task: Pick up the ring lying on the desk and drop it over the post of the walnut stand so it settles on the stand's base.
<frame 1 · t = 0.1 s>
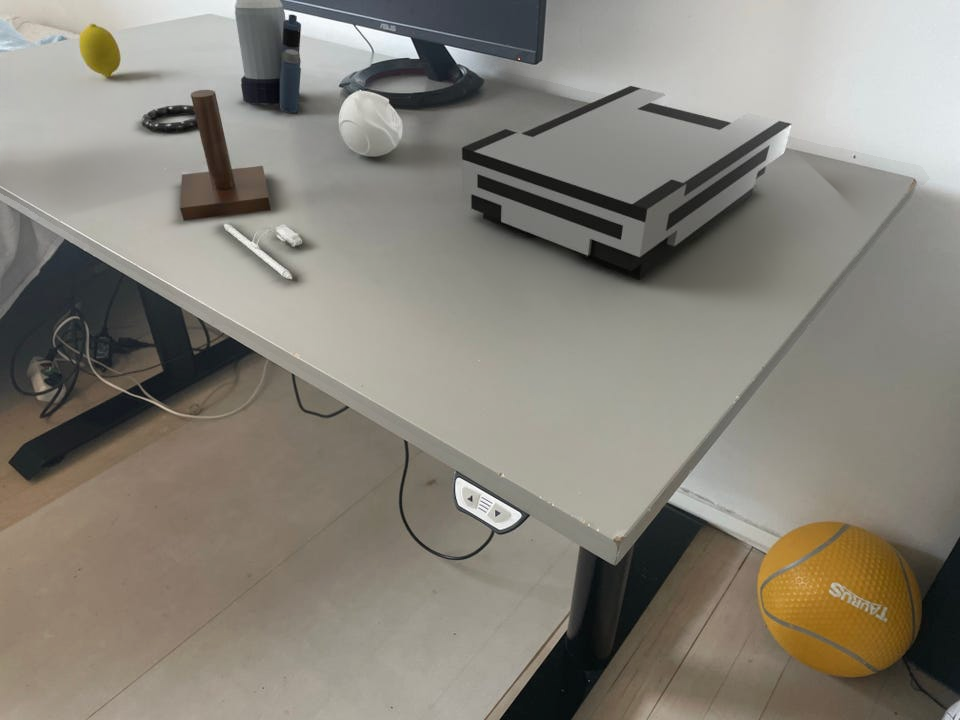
picture light: (273, 249, 71), on the table
ring: (175, 118, 98), point 1 cm above the table
vaping device: (288, 106, 103), on the table, touching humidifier
stand: (226, 198, 80), on the table
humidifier: (271, 100, 106), on the table, touching vaping device
game console: (627, 203, 80), on the table
white ridged ball: (373, 155, 90), on the table
lemon: (108, 78, 115), on the table
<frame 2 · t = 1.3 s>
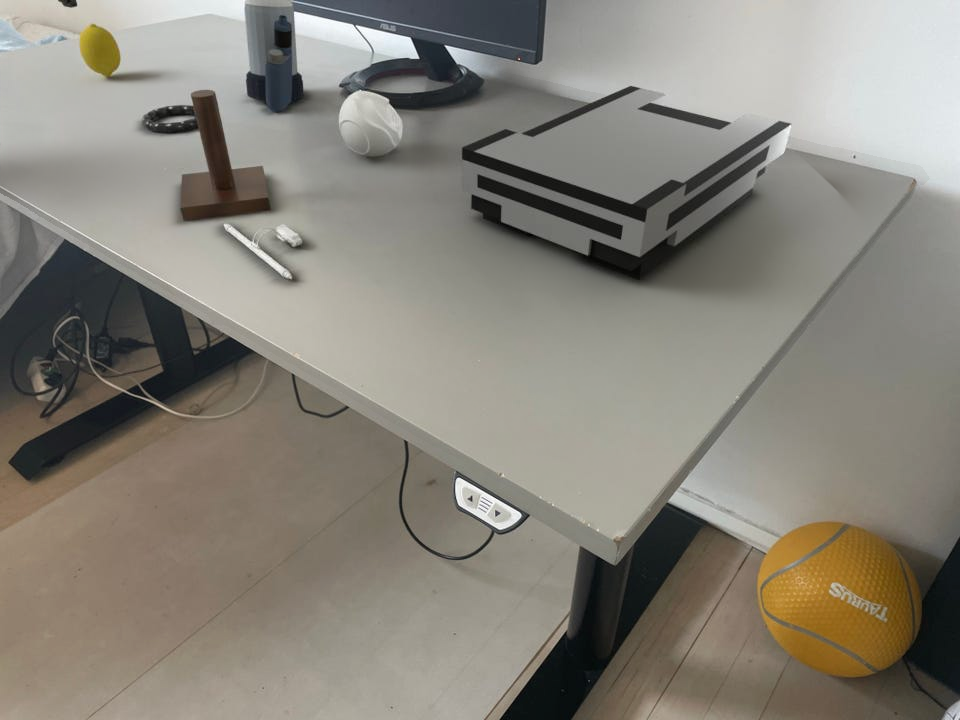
hand: (101, 0, 90), 15 cm above the table, tool pointing down, fingers open, 8 cm apart
vaping device: (279, 105, 104), on the table, touching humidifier
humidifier: (275, 96, 107), on the table, touching vaping device
everything else where it was.
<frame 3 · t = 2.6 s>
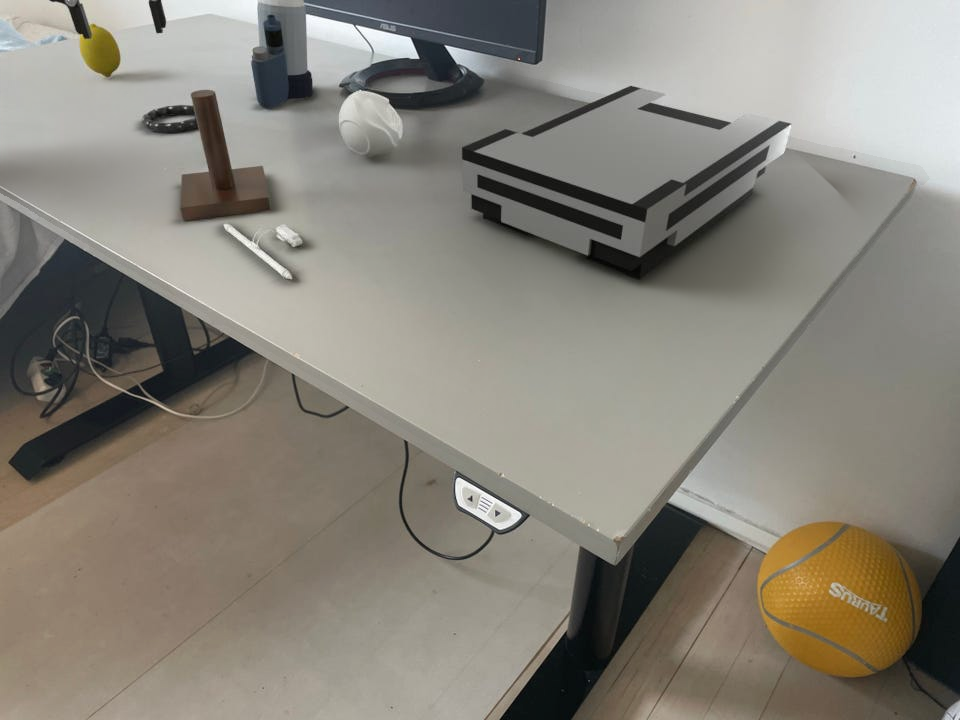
hand: (124, 34, 91), 12 cm above the table, tool pointing down, fingers open, 8 cm apart
vaping device: (274, 102, 105), on the table, touching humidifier
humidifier: (285, 93, 108), on the table, touching vaping device
everything else where it was.
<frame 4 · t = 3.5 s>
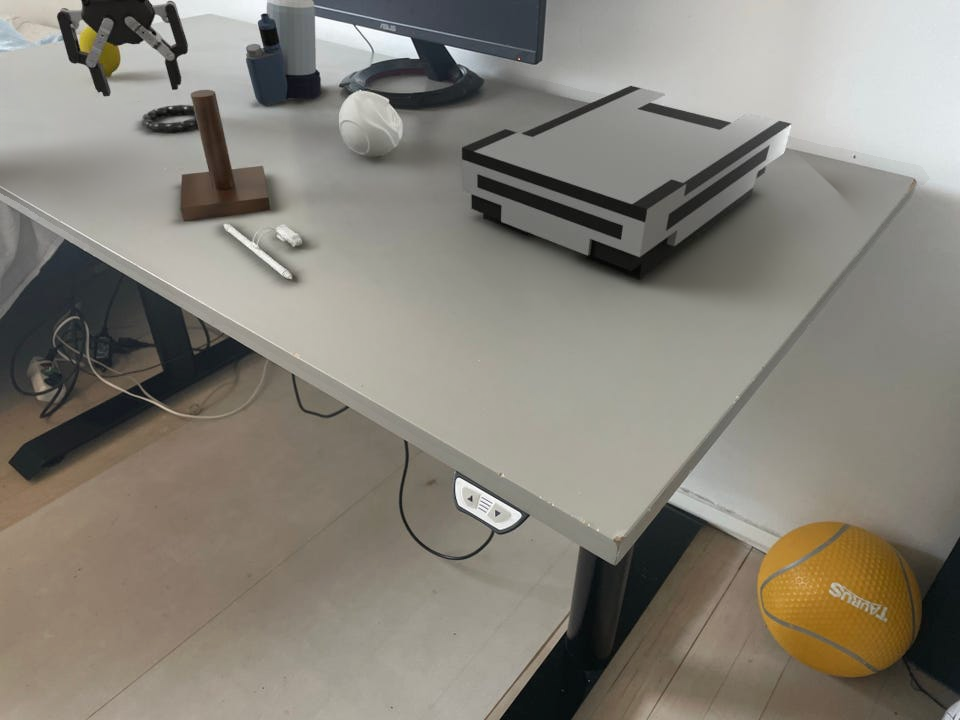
hand: (141, 91, 95), 4 cm above the table, tool pointing down, fingers open, 8 cm apart
vaping device: (274, 100, 106), on the table, touching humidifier
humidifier: (293, 92, 109), on the table, touching vaping device
everything else where it was.
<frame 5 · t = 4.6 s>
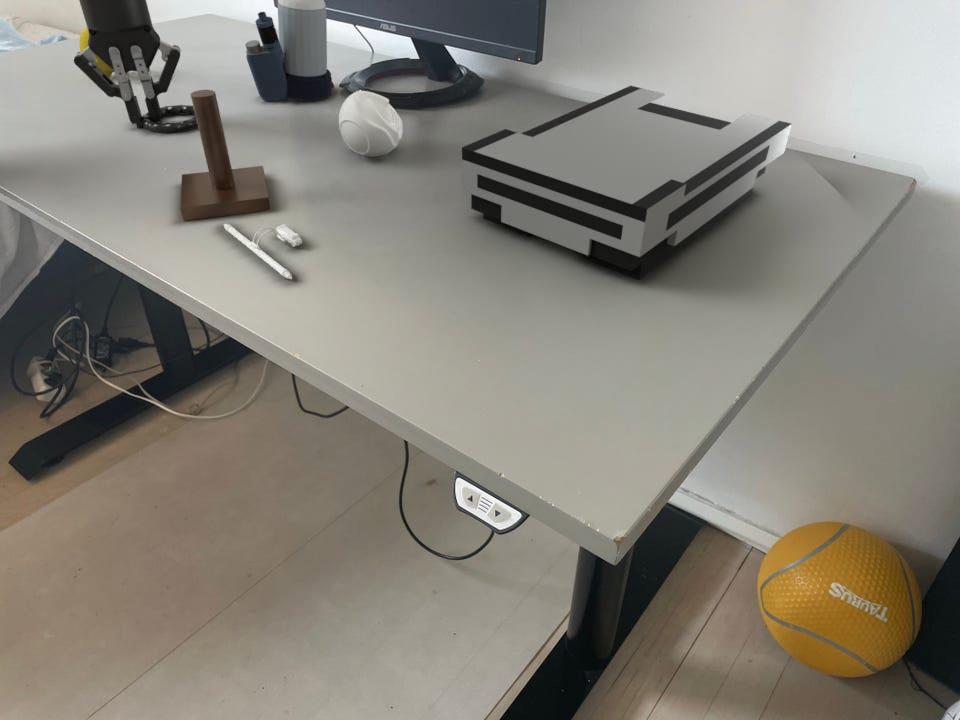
hand: (147, 124, 98), 0 cm above the table, tool pointing down, fingers closed on ring, 1 cm apart
ring: (174, 118, 98), point 1 cm above the table, touching gripper
vaping device: (278, 97, 107), on the table, touching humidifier
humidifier: (304, 92, 109), on the table, touching vaping device
everything else where it was.
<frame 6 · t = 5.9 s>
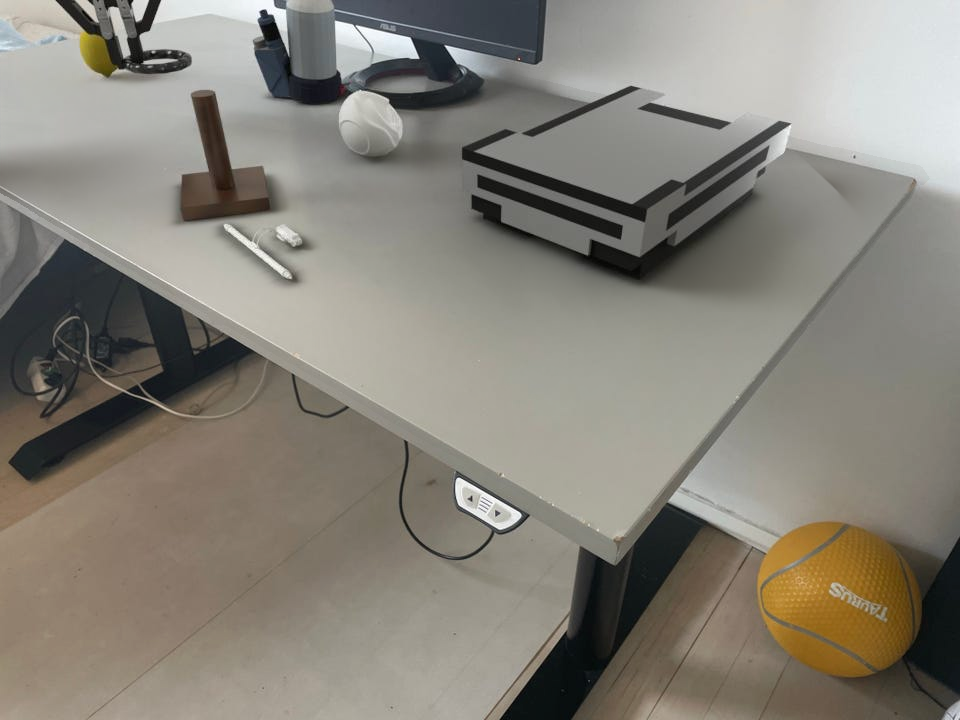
hand: (129, 67, 93), 8 cm above the table, tool pointing down, fingers closed on ring, 1 cm apart
ring: (157, 61, 94), point 8 cm above the table, touching gripper
vaping device: (286, 94, 108), on the table, touching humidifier
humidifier: (315, 94, 108), on the table, touching vaping device
everything else where it was.
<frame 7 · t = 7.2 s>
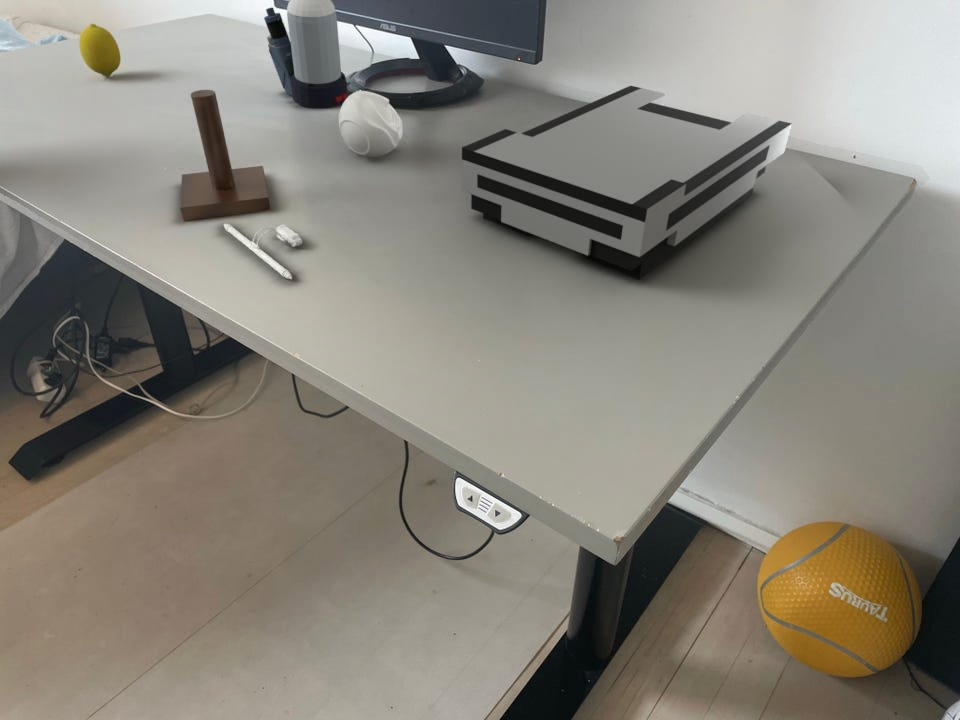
vaping device: (297, 93, 108), on the table, touching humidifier
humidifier: (320, 97, 107), on the table, touching vaping device
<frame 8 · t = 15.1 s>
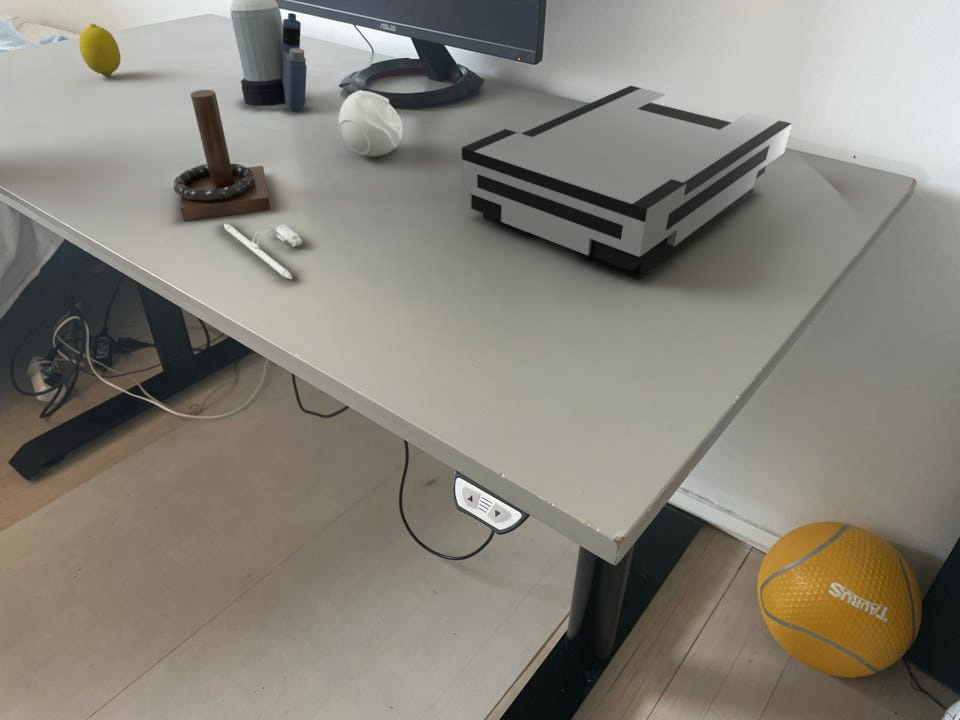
ring: (214, 181, 78), point 2 cm above the table, touching stand
vaping device: (292, 106, 104), on the table, touching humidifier
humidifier: (272, 100, 106), on the table, touching vaping device
everything else where it was.
at the end: ring 0.8 cm off-centre on the stand, point 2.1 cm above the stand's base; the gripper is holding nothing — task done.
